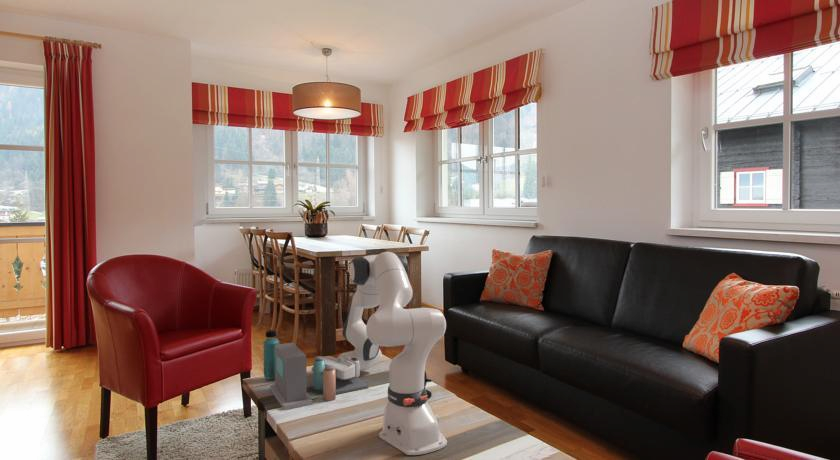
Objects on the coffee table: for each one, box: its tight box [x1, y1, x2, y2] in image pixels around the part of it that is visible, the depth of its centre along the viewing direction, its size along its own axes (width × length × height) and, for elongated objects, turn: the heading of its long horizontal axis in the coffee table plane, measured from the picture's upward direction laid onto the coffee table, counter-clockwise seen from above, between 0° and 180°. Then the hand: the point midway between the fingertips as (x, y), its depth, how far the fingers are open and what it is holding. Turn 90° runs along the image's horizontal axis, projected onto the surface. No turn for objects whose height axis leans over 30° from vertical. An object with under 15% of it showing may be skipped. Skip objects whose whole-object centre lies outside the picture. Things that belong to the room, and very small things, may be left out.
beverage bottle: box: [262, 329, 280, 379], centre depth 201 cm, size 6×7×20 cm
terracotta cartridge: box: [322, 365, 337, 402], centre depth 182 cm, size 4×4×12 cm
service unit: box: [269, 342, 314, 411], centre depth 184 cm, size 22×10×18 cm, turn 29°
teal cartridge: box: [312, 355, 325, 391], centre depth 192 cm, size 4×4×12 cm
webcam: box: [424, 370, 433, 399], centre depth 185 cm, size 8×8×10 cm
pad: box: [336, 377, 369, 396], centre depth 195 cm, size 13×13×1 cm
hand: (317, 371), depth 192 cm, fingers open, 5 cm apart
